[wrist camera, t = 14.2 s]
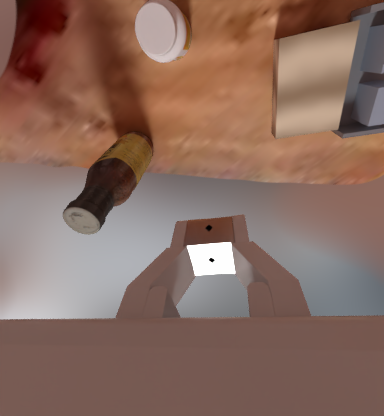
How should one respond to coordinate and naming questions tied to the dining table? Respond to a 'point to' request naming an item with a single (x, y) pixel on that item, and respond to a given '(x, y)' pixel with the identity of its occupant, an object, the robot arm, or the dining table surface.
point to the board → (311, 79)
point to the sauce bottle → (109, 182)
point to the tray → (360, 73)
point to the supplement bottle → (163, 31)
